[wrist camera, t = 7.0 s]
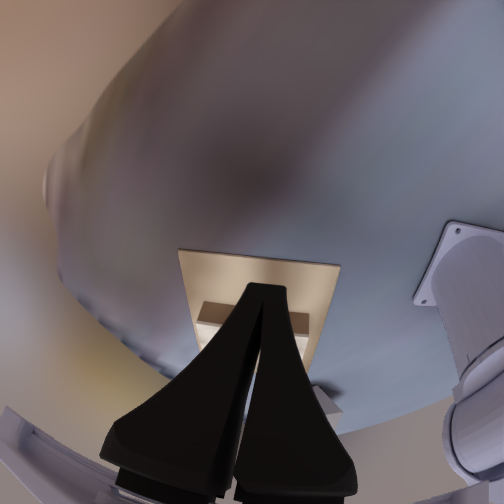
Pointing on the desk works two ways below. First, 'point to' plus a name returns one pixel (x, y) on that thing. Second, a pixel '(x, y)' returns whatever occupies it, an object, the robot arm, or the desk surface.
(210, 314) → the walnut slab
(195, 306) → the light wood board
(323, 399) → the die
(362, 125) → the desk surface
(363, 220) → the desk surface
